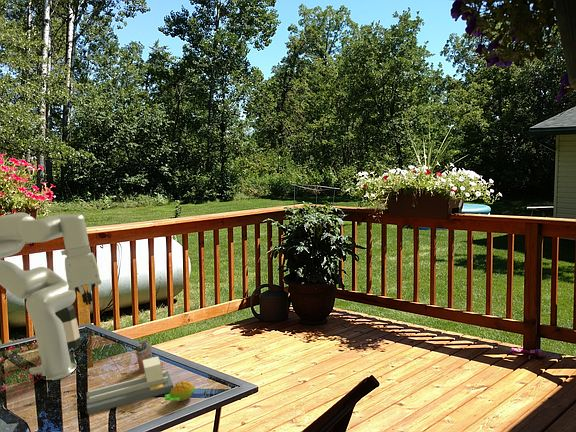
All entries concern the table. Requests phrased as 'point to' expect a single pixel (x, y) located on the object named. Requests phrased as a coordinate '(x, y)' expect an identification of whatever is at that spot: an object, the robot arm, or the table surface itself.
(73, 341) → the wine bottle
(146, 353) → the lighter
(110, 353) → the table surface
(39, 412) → the table surface
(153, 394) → the fader board
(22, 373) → the table surface
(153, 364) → the fader knob
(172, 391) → the toy pineapple
